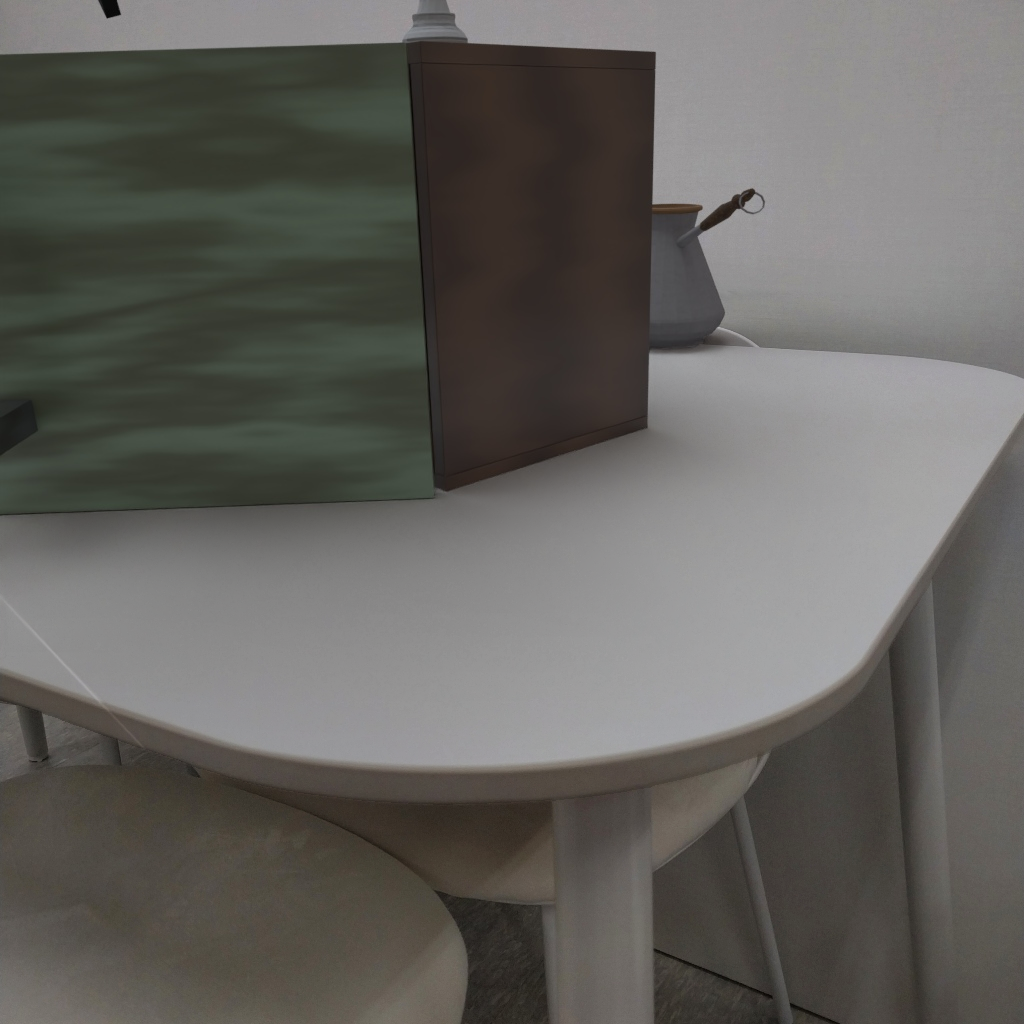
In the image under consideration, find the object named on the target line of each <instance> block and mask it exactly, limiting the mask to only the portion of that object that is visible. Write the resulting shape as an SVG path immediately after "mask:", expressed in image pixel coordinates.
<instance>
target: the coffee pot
mask: <svg viewBox="0 0 1024 1024" xmlns="http://www.w3.org/2000/svg"><path fill="white" fill-rule="evenodd" d="M755 195H756V196H758V197H760V199H761V201H762V207H761V208H760V209H758V210H757V211H755V212H753V211H749V210H747V209H746V208H745V206H746V203H748V202H750V201H751V200H752V198H753V197H754V196H755ZM765 204H766V200H765V198H764V196H763V195H762V194H760V193H759V192H758V191H756V190H755V188H752V187H751V188H748V189H746V190H743V191H742V192H741V194H740V193H737V194H734V195H733V196H732V197H731V200H730V201H727V202H724V203H722V204H720V205H719V206H718V207H717V208H716V209H715V210H713V211H712V212H711V213H710V214H709V215H708V216H707V217H705V218H704V219H703V220H702V221H701V222H700V223H698V225H696V224H697V220H698V215H699V212H701V211H702V210H703V209H704V207H703V205H702V204H695V203H654V204H653V203H652V248H651V292H650V337H649V349H660V350H661V349H664V350H665V349H669V350H670V349H685V348H692V347H696V346H699V345H701V344H703V343H705V338H706V337H708V336H710V335H712V334H713V333H714V332H715V331H716V330H717V329H718V328H719V327H720V325H721V324H722V322H723V319H724V317H725V316H726V311H725V307H724V304H723V302H722V299H721V296H720V295H719V290H718V288H717V286H716V283H715V281H714V277H713V275H712V272H711V269H710V267H709V264H708V261H707V258H706V255H705V253H704V250H703V248H702V245H701V243H700V240H699V236H700V235H702V234H703V233H704V232H707V231H708V230H711V229H712V228H714V227H715V226H717V225H719V224H721V223H722V222H725V221H727V219H729V218H731V216H732V215H733V214H734V213H735V212H736V211H737V210H741V211H743V212H744V213H746V214H749V215H757V214H758V213H760V212H761V211H762V210H763V209H765Z"/></svg>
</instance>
